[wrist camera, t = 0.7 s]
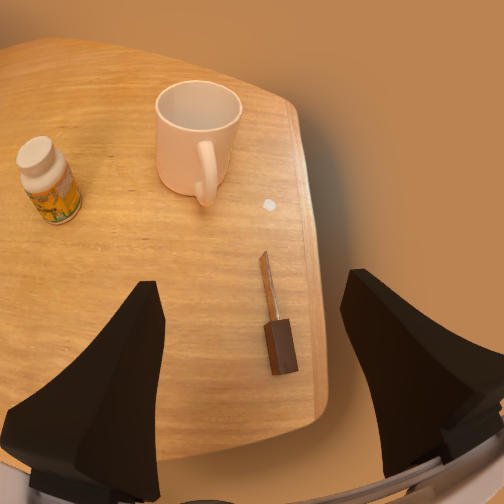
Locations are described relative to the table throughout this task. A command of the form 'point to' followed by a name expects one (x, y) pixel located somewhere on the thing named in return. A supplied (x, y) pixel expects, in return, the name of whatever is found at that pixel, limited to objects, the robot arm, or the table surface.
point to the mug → (195, 137)
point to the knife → (277, 329)
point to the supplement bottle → (48, 180)
